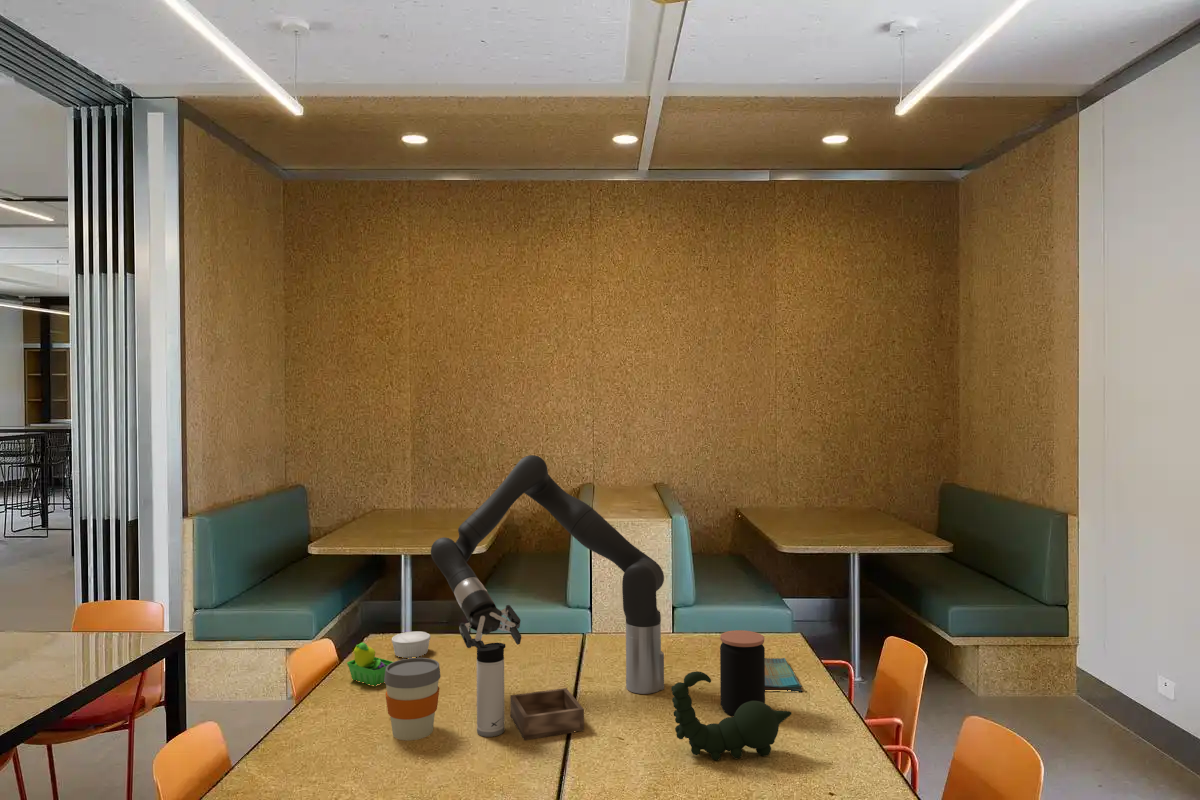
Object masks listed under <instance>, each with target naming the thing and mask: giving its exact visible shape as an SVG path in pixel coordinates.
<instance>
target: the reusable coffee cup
mask: <svg viewBox="0 0 1200 800" xmlns="http://www.w3.org/2000/svg"><path fill="white" fill-rule="evenodd" d="M392 662H393V663H391V664H389V665H387V667H386V669H385V678H384V682H385V683H384V684H385V687H386V692H385V700H386V709H387V714H388V716H389V717H390V724H391V731H392V736H393V738H395V739H396V738H397V740H400V741H416V740H422V739H425V738H426V737H428V736H430V735H431V734H432V733H433V732H434V725H435V724H434V723H435V715H436V711H437V710H438V706H439V705H438V703H439V696H440V686H439V682H440V681H439V680H440V679H441V667H440V662H439V661H437V660H436V659H432V658H427V657H417V658H409V659H404V658H402V659H399V660H396V661H392Z"/></svg>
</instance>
